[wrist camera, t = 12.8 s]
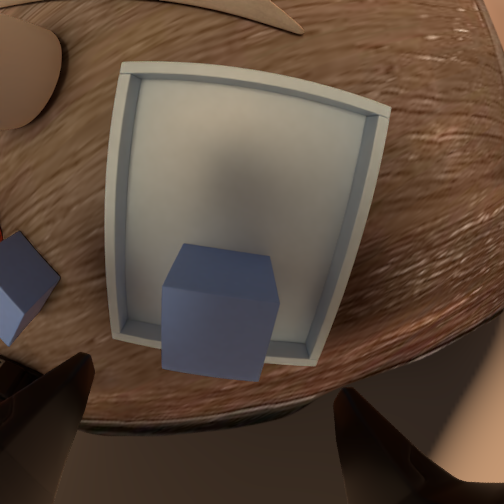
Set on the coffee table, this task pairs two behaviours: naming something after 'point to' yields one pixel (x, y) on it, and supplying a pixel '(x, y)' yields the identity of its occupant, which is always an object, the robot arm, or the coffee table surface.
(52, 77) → the beverage can
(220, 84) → the tray
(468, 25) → the coffee table surface
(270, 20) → the beige doorstop wedge
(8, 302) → the blue block
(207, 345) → the blue block
